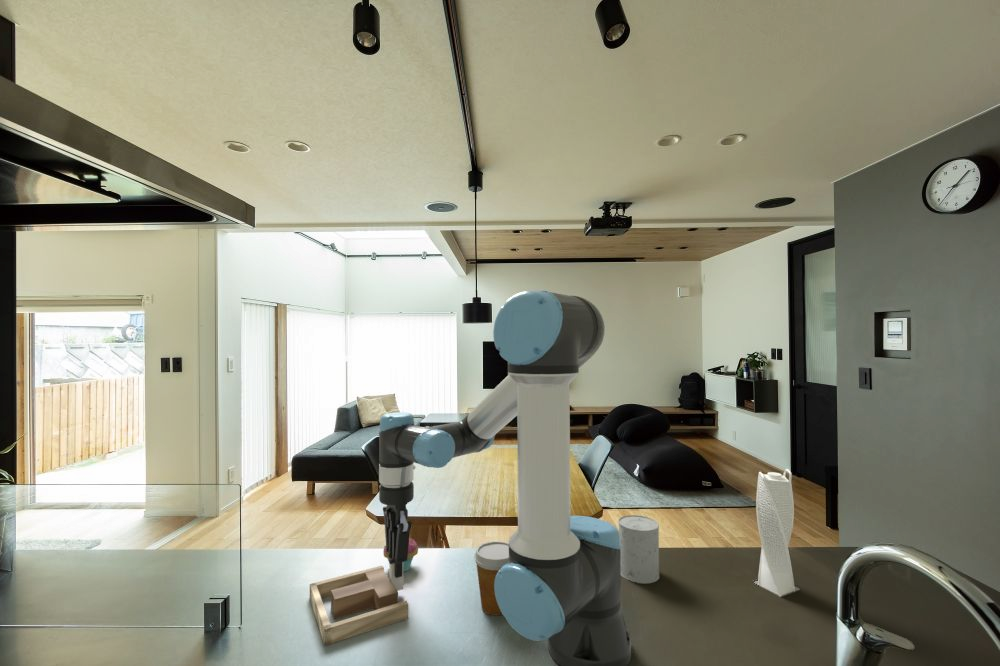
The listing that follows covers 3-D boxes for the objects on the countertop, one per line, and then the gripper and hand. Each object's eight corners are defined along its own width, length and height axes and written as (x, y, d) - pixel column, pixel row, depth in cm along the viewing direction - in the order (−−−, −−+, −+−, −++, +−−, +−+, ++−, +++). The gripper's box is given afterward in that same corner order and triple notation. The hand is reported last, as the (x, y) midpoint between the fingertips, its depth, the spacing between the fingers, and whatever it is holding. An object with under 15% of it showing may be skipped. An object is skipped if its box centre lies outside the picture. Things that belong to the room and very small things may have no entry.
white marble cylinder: (610, 568, 112) (610, 518, 112) (640, 560, 116) (639, 512, 117) (637, 587, 104) (636, 533, 104) (668, 578, 108) (667, 526, 108)
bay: (408, 618, 92) (408, 603, 92) (324, 645, 84) (324, 629, 84) (382, 578, 108) (382, 565, 108) (309, 597, 99) (309, 584, 99)
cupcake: (392, 579, 107) (392, 529, 107) (377, 566, 113) (377, 518, 114) (424, 568, 112) (424, 520, 113) (407, 556, 119) (408, 510, 119)
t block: (398, 611, 94) (398, 592, 94) (338, 629, 88) (338, 609, 88) (381, 584, 105) (381, 567, 105) (327, 600, 99) (327, 581, 99)
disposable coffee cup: (519, 595, 100) (519, 541, 100) (517, 621, 91) (517, 561, 91) (477, 593, 101) (477, 539, 101) (470, 618, 92) (470, 559, 92)
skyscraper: (806, 594, 101) (804, 469, 102) (783, 603, 98) (781, 473, 98) (770, 576, 109) (768, 460, 109) (748, 584, 105) (746, 464, 106)
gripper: (423, 488, 97) (422, 598, 97) (403, 472, 108) (403, 571, 108) (388, 494, 93) (388, 609, 93) (372, 477, 104) (371, 580, 104)
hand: (396, 589), depth 100 cm, fingers closed
